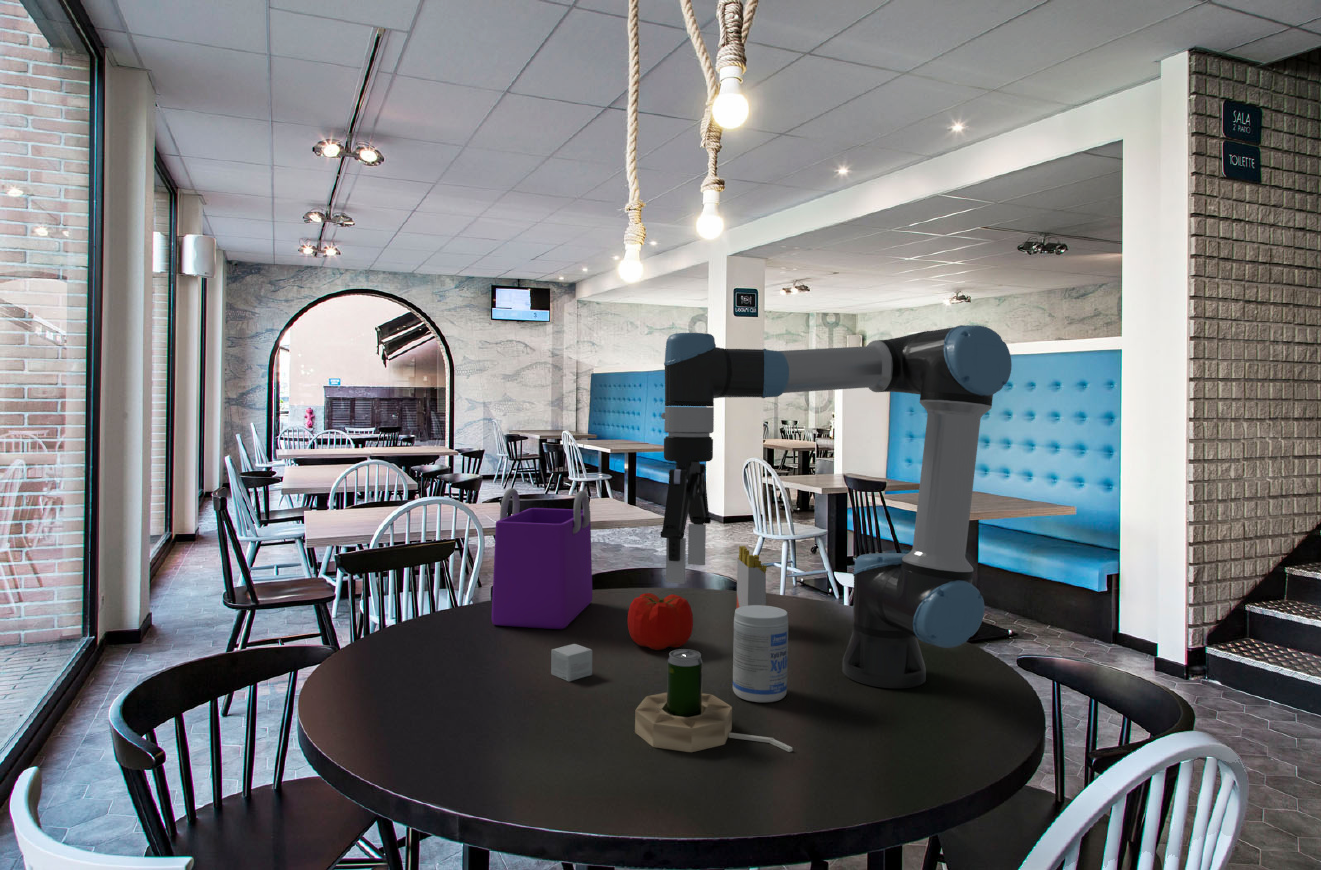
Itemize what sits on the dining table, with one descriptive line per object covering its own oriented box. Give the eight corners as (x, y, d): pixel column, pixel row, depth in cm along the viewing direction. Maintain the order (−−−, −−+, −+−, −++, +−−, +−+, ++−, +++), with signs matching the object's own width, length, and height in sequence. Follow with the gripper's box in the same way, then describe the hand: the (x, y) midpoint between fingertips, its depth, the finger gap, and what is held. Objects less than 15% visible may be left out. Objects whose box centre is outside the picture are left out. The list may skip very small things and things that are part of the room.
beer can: (679, 740, 117) (680, 661, 116) (659, 728, 121) (661, 652, 121) (708, 733, 120) (709, 656, 119) (688, 720, 124) (689, 646, 124)
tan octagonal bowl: (736, 718, 125) (736, 697, 125) (719, 756, 112) (719, 732, 112) (652, 708, 129) (653, 687, 129) (626, 743, 115) (626, 720, 115)
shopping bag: (587, 631, 173) (588, 496, 171) (488, 630, 172) (489, 495, 171) (593, 599, 201) (594, 484, 200) (508, 599, 200) (509, 483, 199)
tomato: (617, 650, 159) (618, 599, 159) (642, 633, 172) (643, 586, 171) (679, 659, 154) (680, 607, 154) (701, 641, 166) (702, 592, 166)
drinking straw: (794, 743, 116) (794, 740, 116) (792, 752, 113) (792, 749, 113) (729, 735, 119) (729, 732, 119) (725, 743, 116) (725, 740, 116)
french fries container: (754, 620, 183) (756, 544, 183) (767, 633, 173) (768, 553, 172) (736, 620, 183) (737, 544, 182) (746, 633, 172) (748, 553, 171)
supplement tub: (782, 707, 130) (784, 620, 130) (726, 700, 133) (728, 615, 132) (790, 688, 139) (792, 606, 139) (738, 681, 142) (740, 602, 142)
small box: (574, 667, 149) (574, 642, 148) (593, 675, 145) (593, 649, 144) (549, 674, 145) (550, 648, 145) (568, 682, 141) (569, 656, 140)
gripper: (684, 432, 132) (682, 556, 132) (641, 437, 108) (639, 589, 108) (727, 433, 130) (725, 559, 130) (693, 438, 106) (691, 593, 106)
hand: (686, 573), depth 119 cm, fingers open, 13 cm apart
